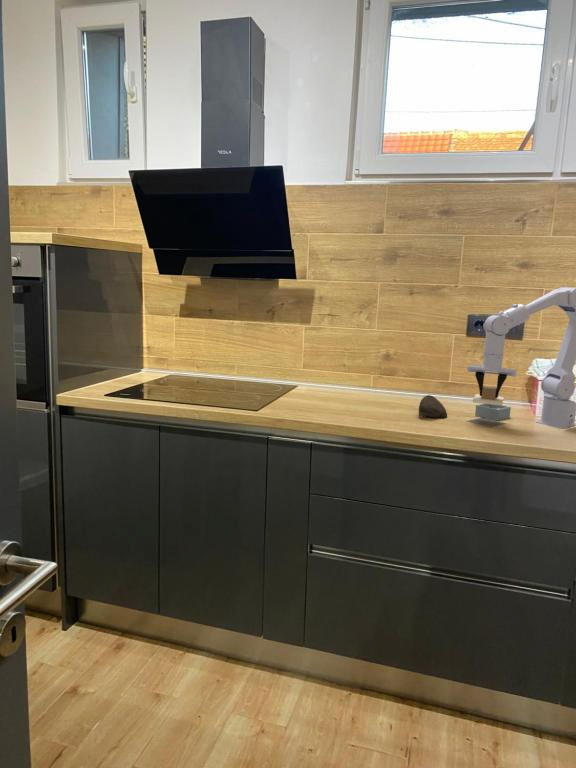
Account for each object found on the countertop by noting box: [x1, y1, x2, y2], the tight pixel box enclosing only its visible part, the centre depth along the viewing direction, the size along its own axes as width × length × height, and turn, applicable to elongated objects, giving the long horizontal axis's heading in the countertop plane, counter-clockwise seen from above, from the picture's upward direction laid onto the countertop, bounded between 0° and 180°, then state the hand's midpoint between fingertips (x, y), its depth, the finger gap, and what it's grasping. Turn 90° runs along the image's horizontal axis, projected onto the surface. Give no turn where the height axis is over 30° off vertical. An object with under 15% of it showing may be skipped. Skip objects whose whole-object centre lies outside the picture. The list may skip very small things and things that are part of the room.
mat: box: [466, 417, 507, 428], centre depth 182 cm, size 9×9×1 cm
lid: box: [472, 386, 505, 406], centre depth 181 cm, size 9×9×4 cm
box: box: [474, 403, 512, 422], centre depth 190 cm, size 8×8×4 cm
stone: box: [418, 394, 448, 419], centre depth 188 cm, size 10×8×10 cm
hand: (488, 396), depth 181 cm, fingers closed on lid, 4 cm apart
